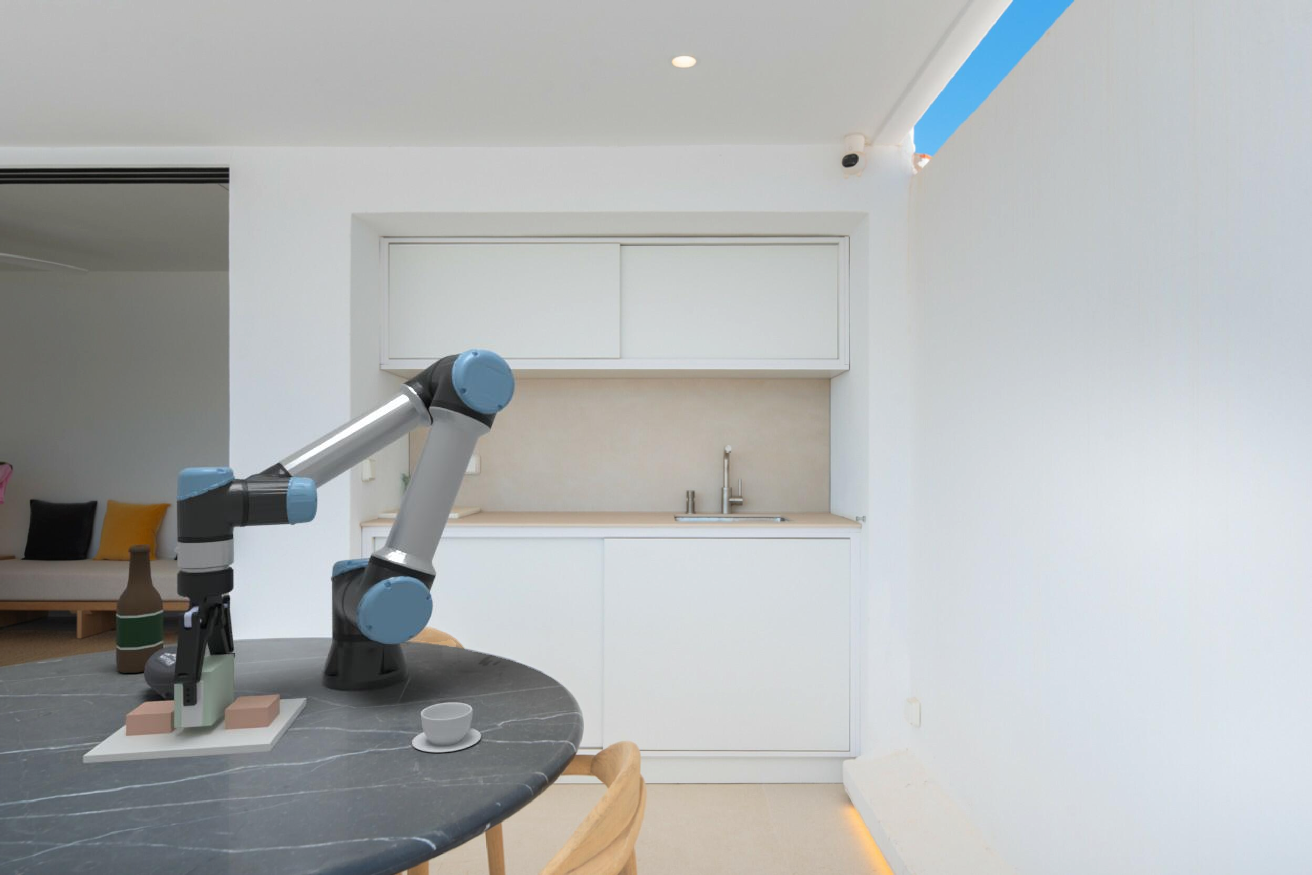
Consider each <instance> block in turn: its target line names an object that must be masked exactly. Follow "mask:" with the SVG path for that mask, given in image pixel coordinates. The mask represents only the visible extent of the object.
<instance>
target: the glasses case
mask: <svg viewBox="0 0 1312 875" xmlns="http://www.w3.org/2000/svg"><path fill="white" fill-rule="evenodd" d="M176 654H177V646H176V645H169V646H166V647H163V649H161V650H159V651H157V652H155V653H154V654H153V655H152V656H151V657H150V658H149V659H148V661H147V662H146V665H145V671H143V677H144V680H145V683H146V684H147V686H149V687H150V688H151V689H152V690H154V691H155V692H156V693H157V695H159V696H161V697H162V699H164V701H171V700H174V681H173V680H174V673H175V664H176Z"/></svg>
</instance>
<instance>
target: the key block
mask: <svg viewBox="0 0 1312 875" xmlns="http://www.w3.org/2000/svg"><path fill="white" fill-rule="evenodd" d="M174 674H175V673H174ZM187 674H189V673H187ZM201 680H203V719H204V724H203V725H202V726H211V725H212V724H213V723H215V722H216V721H217V720H218V719H219V718H220V717H221V716H222V715H223V714H224V713H225V709H226V708H227V707H229V706H230V705H231V704H232V703H233V702H234V701H235V658H234V654H223V655H210V654H205V656H204V662H203V667H202V673H201V679H200V681H201ZM180 727H181V684H174V728H180Z"/></svg>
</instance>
